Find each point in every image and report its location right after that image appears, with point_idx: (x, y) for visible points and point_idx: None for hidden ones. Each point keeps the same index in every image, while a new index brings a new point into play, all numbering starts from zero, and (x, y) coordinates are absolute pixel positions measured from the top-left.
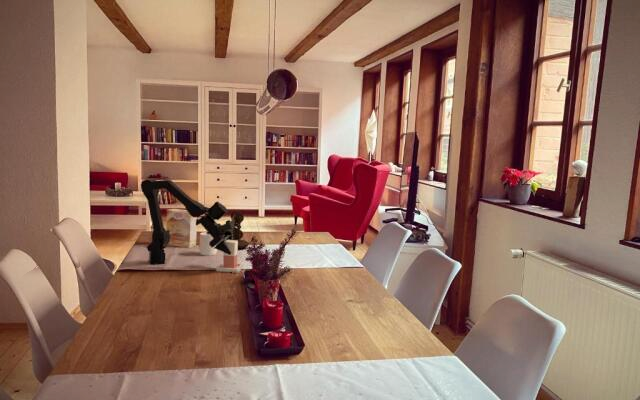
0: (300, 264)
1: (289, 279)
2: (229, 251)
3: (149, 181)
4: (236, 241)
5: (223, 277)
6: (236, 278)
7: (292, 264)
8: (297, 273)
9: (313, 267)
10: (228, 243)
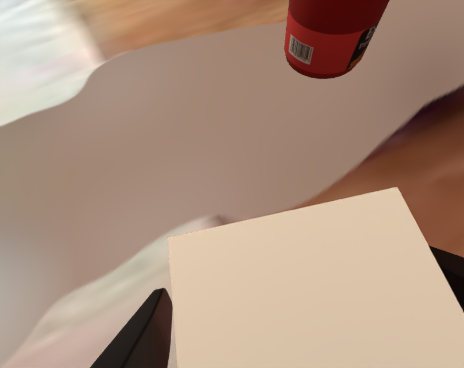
0: (45, 71)
1: (266, 19)
2: (435, 251)
3: None
4: (266, 218)
5: (452, 235)
6: (407, 167)
7: (52, 91)
8: (177, 31)
9: (76, 29)
10: (454, 342)
